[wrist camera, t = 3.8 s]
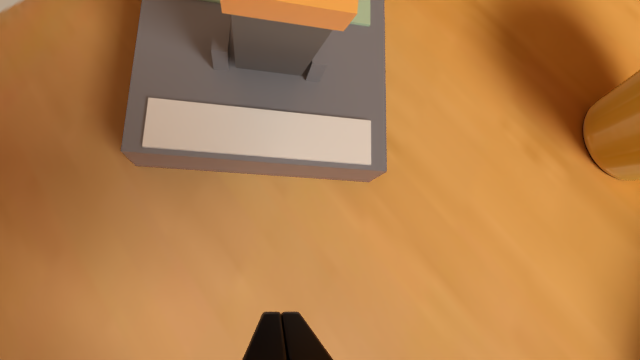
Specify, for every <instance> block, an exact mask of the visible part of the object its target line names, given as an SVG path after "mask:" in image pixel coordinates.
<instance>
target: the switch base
mask: <svg viewBox="0 0 640 360" xmlns="http://www.w3.org/2000/svg"><path fill="white" fill-rule="evenodd" d="M121 152H122V153H123V154H124V155H125V156H126V157H127V158H128V159H129V160H130V161H131V162H133V163H134V164H135V165H136V166H146V167H161V168H175V169H189V170H204V171H218V172H232V173H247V174H261V175H276V176H290V177H304V178H319V179H333V180H347V181H362V182H370V181H372V180H373V179H375V178H377V177H378V176H380V175H382V174H383V173H385V172H387V158H386V88H385V17H384V0H358V11H357V15H356V16H355V17H354V19H353V20H352V21H351V22H350V24H349V25H348V26H347V28H346V29H345V30H344V31H338V30H332V32H331V33H330V35H329V36H328V38H327V39H326V41H325V42H324V43H323V45H322V46H321V48H320V49H319V51H318V52H317V53H316V55H315V56H314V58H313V59H312V61H311V62H310V64H309V65H308V66H307V68H306V69H305V71H304V72H303V74H302V75H301V76H298V75H290V74H282V73H274V72H266V71H258V70H250V69H241V68H236V65H235V54H234V42H233V31H232V19H231V14H225V13H222V10H221V3H220V0H142V4H141V11H140V18H139V25H138V32H137V39H136V46H135V54H134V61H133V68H132V75H131V82H130V89H129V96H128V103H127V110H126V117H125V125H124V132H123V139H122V146H121Z"/></svg>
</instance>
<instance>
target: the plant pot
mask: <svg viewBox="0 0 640 360" xmlns="http://www.w3.org/2000/svg"><path fill="white" fill-rule="evenodd" d="M583 135H584V140H585V144H586V147H587V149H588V151H589V153H590V155H591V157H592V158H593V160H594V161H595V162H596V164H597V165H598V166H599V167H600V168H601V169H602V170H603V171H605V172H606V173H607V174H609V175H611V176H613V177H615V178H617V179H621V180H640V70H639V71H638V72H636V73H635V74H634V75H632V76H631V77H630V78H628V79H627V80H626V81H624V82H623V83H622V84H620V85H619V86H617V87H616V88H615V89H613V90H612V91H611V92H609V93H608V94H607V95H605V96H604V97H602V98H601V99H600V100H598V101H597V102H596V103H595V104H593V105H592V106H591V108H590V109H589V110H588V112H587V114H586V117H585V120H584V125H583Z"/></svg>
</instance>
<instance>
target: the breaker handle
mask: <svg viewBox="0 0 640 360" xmlns="http://www.w3.org/2000/svg"><path fill="white" fill-rule="evenodd" d="M220 3H221V10H222V13H225V14H231V19H232V31H233V42H234V54H235V65H236V68H241V69H250V70H258V71H266V72H274V73H282V74H290V75H298V76H301V75H302V74H303V72H304V71H305V69H306V68H307V66H308V65H309V64H310V62H311V61H312V59H313V58H314V56H315V55H316V53H317V52H318V51H319V49H320V48H321V46H322V45H323V43H324V42H325V41H326V39H327V38H328V36H329V35H330V33H331V32H332V30H338V31H344V30H345V29H346V28H347V26H348V25H349V24H350V22H351V21H352V20H353V19H354V17H355V16H356V15H357V11H358V0H220Z"/></svg>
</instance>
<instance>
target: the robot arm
mask: <svg viewBox="0 0 640 360" xmlns="http://www.w3.org/2000/svg"><path fill="white" fill-rule="evenodd" d="M243 360H333V359H332V358H331V356H330V355H329V353H328V352H327V351H326V349H325V348H324V346H323V345H322V344H321V342H320V341H319V339H318V338H317V337H316V335H315V334H314V332H313V331H312V330H311V328H310V327H309V326H308V324H307V323H306V321H305V320H304V319H303V317H302V316H301V314H300V313H298V312H283V313H282V314H280V312H264V313H263V314H262V316H261V318H260V321H259V323H258V325H257V327H256V330H255V332H254V334H253V337H252V339H251V341H250V344H249V346H248V348H247V350H246V353H245V355H244V357H243Z"/></svg>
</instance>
